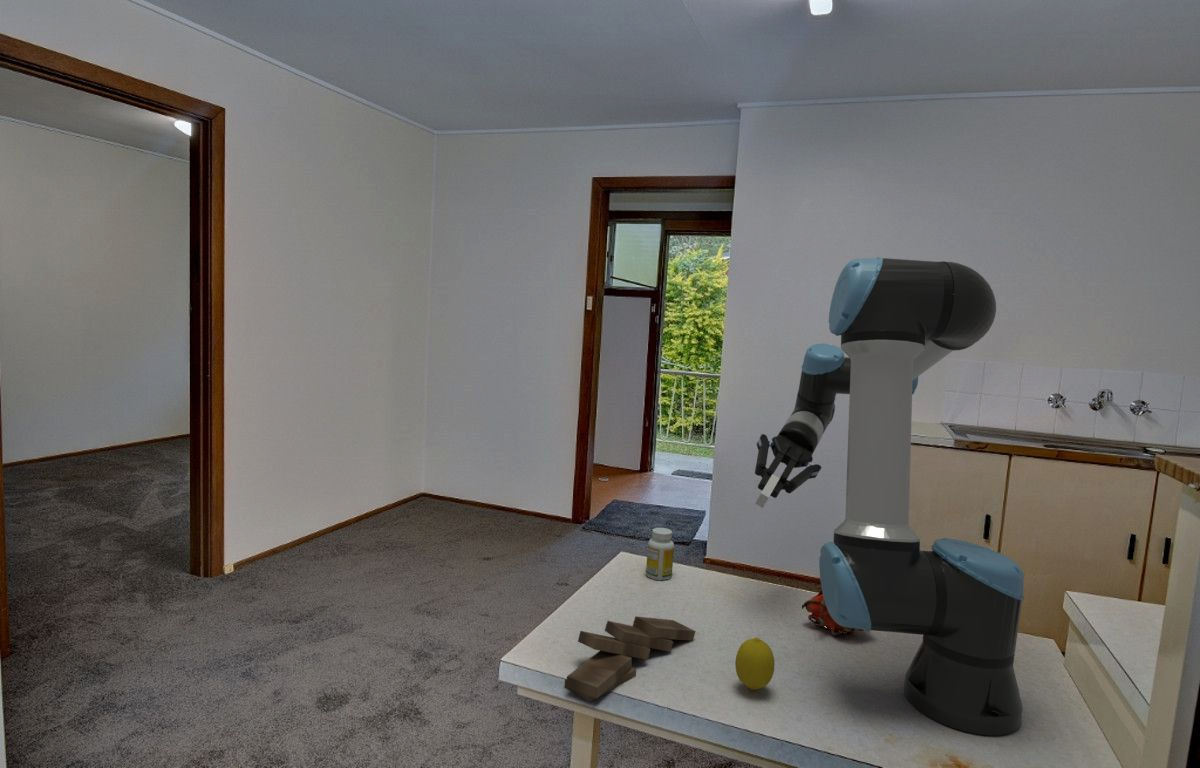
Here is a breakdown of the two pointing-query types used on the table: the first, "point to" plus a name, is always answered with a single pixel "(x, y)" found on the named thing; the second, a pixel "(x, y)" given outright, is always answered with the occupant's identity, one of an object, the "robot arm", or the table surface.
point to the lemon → (754, 663)
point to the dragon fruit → (824, 615)
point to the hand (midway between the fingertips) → (761, 500)
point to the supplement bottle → (660, 555)
